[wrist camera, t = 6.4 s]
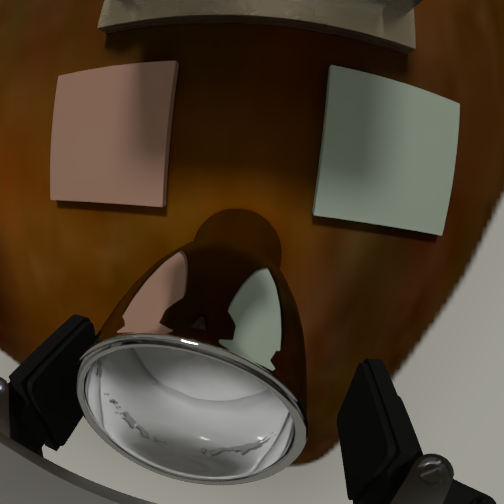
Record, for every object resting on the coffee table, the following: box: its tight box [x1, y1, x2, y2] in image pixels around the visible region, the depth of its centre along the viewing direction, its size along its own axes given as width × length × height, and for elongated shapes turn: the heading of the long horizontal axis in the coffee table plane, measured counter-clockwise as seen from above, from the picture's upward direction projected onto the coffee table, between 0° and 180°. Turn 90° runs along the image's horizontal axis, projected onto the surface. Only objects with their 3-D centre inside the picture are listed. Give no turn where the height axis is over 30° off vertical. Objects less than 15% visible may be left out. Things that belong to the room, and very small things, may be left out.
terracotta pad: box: [50, 61, 179, 207], centre depth 18 cm, size 10×10×1 cm
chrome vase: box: [73, 209, 308, 485], centre depth 14 cm, size 7×7×15 cm
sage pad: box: [312, 65, 460, 236], centre depth 18 cm, size 10×10×1 cm
